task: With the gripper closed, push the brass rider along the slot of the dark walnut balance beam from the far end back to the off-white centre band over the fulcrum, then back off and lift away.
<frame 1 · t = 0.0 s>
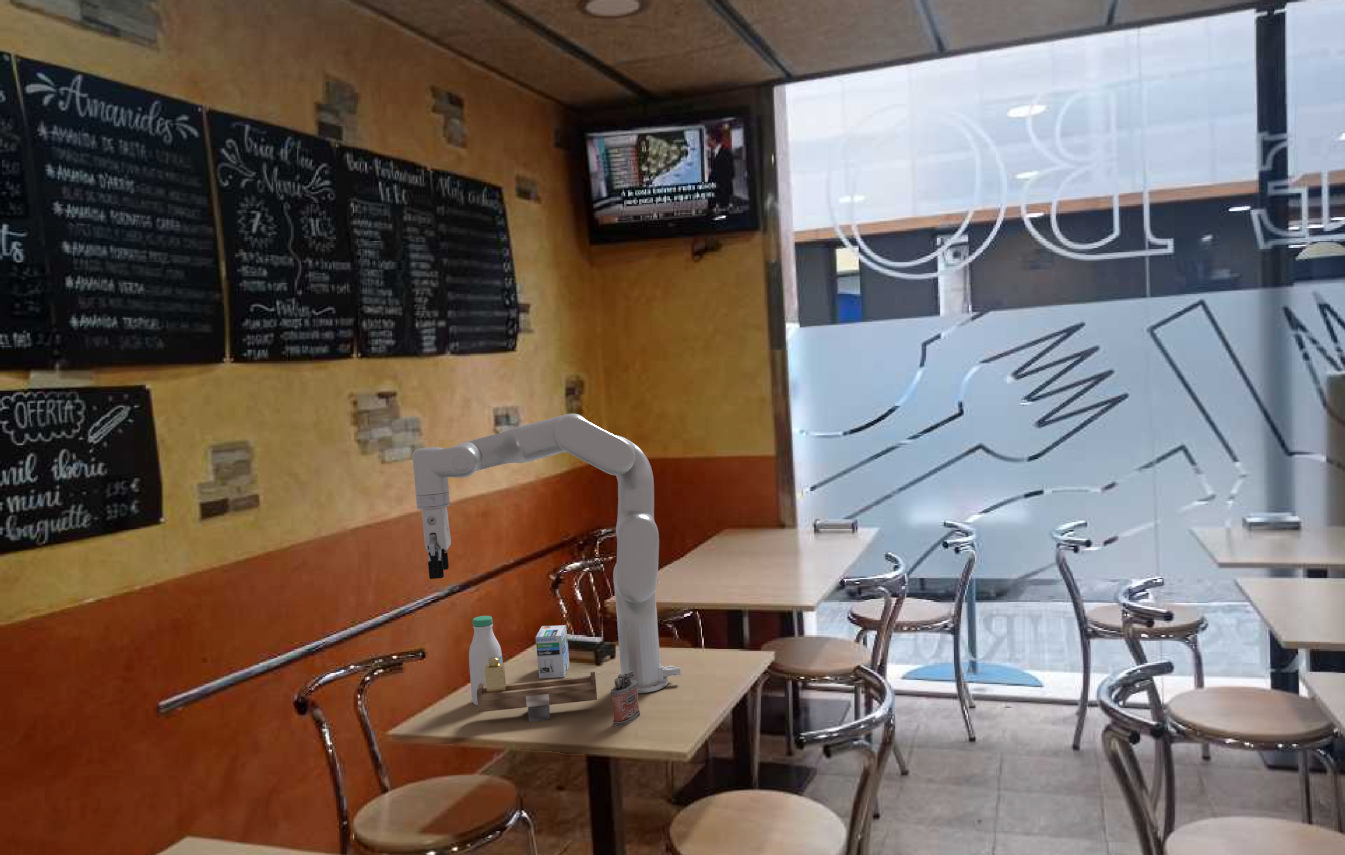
hand: (439, 573, 231), 31 cm above the table, tool pointing down, fingers open, 9 cm apart
rider: (495, 676, 221), point 10 cm above the table, slide at 9.0 cm
milk bottle: (489, 702, 234), on the table
beam: (539, 714, 223), on the table
lighter: (626, 720, 216), on the table
light bulb box: (554, 672, 254), on the table
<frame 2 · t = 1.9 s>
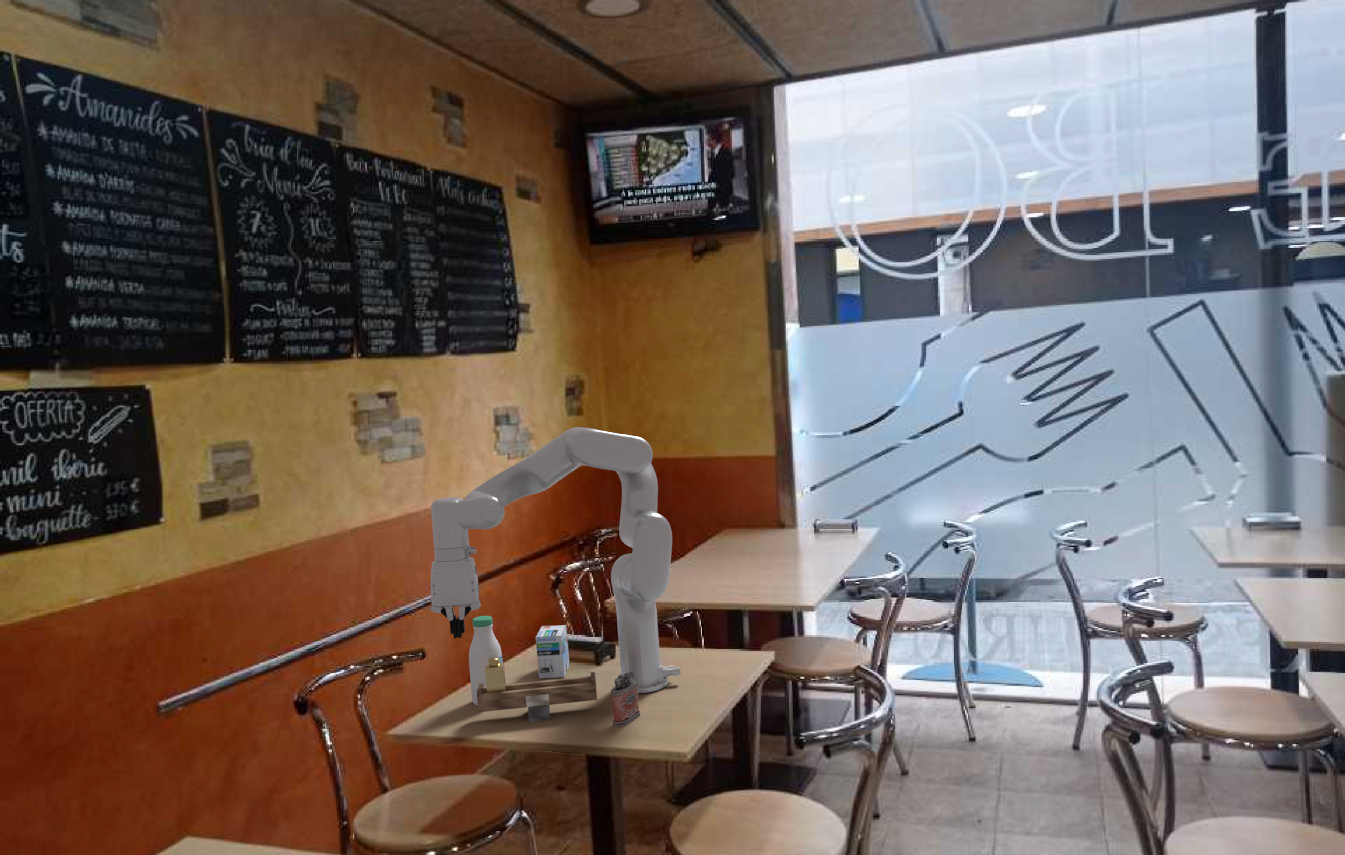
hand: (458, 636, 220), 19 cm above the table, tool pointing down, fingers closed
nothing on the table moved.
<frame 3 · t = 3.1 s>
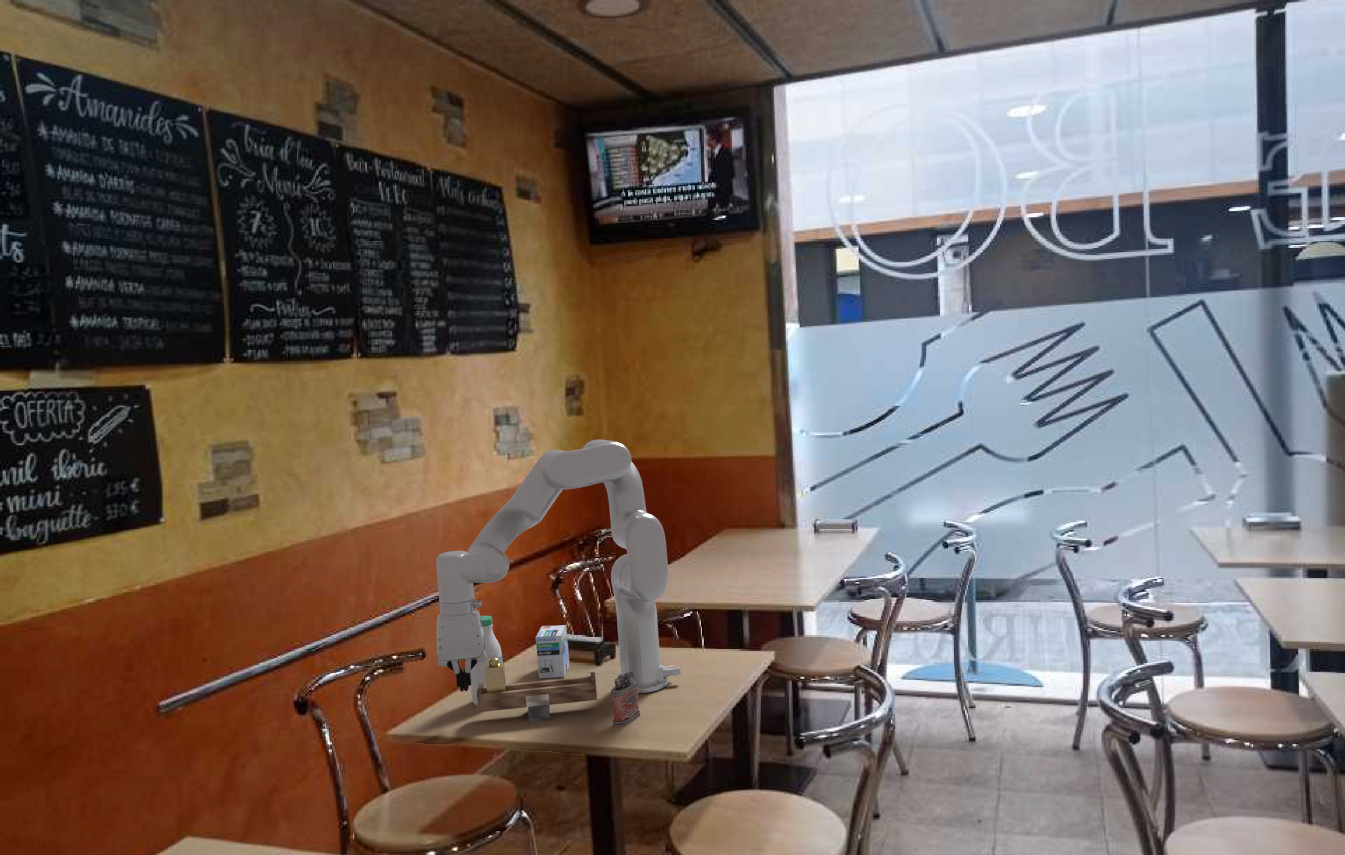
hand: (464, 689, 221), 8 cm above the table, tool pointing down, fingers closed
nothing on the table moved.
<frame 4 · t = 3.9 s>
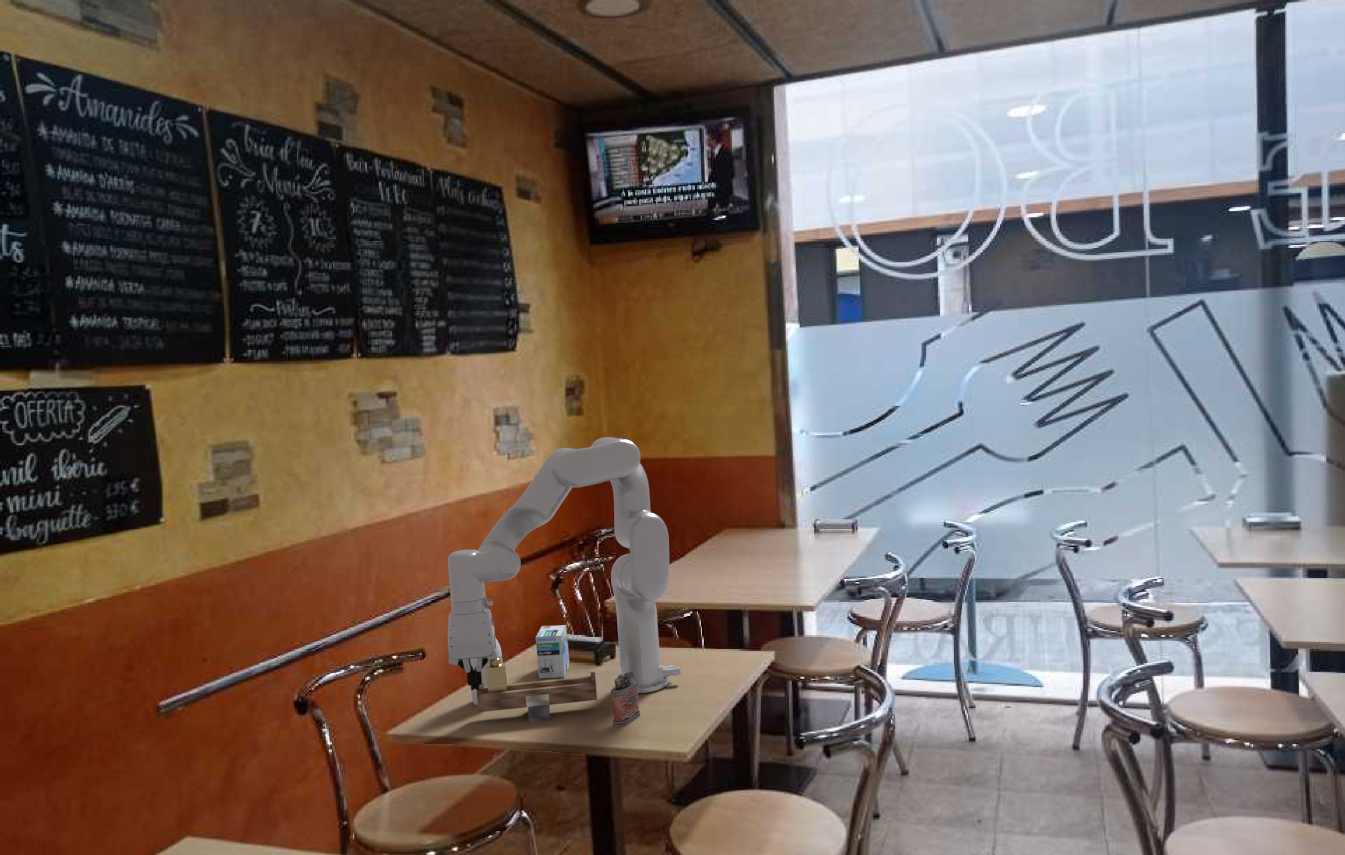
hand: (475, 688, 221), 8 cm above the table, tool pointing down, fingers closed
rider: (496, 676, 221), point 10 cm above the table, slide at 8.7 cm, touching gripper
everything else where it was.
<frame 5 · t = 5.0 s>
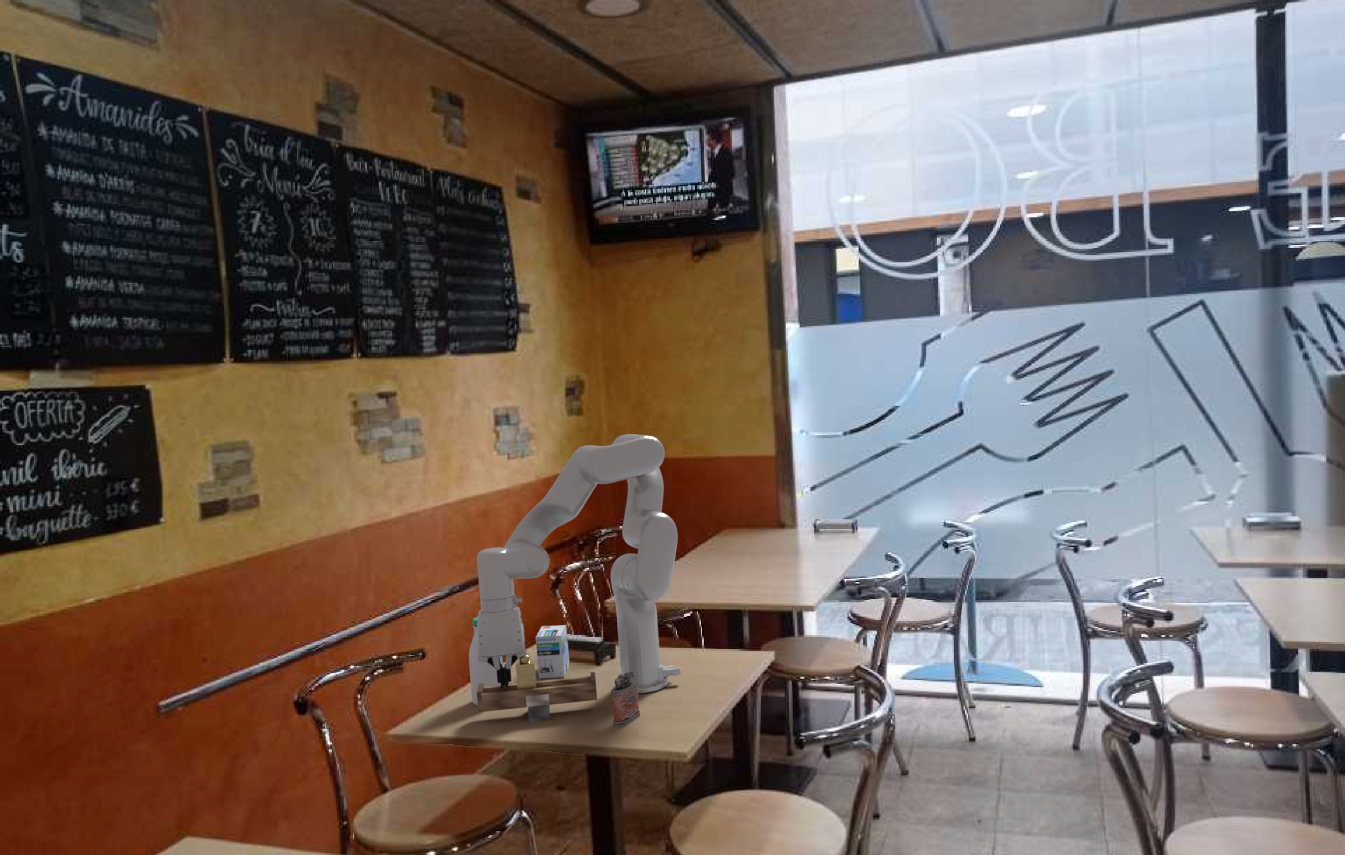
hand: (504, 685, 221), 7 cm above the table, tool pointing down, fingers closed
rider: (525, 673, 222), point 10 cm above the table, slide at 2.3 cm, touching gripper
everything else where it was.
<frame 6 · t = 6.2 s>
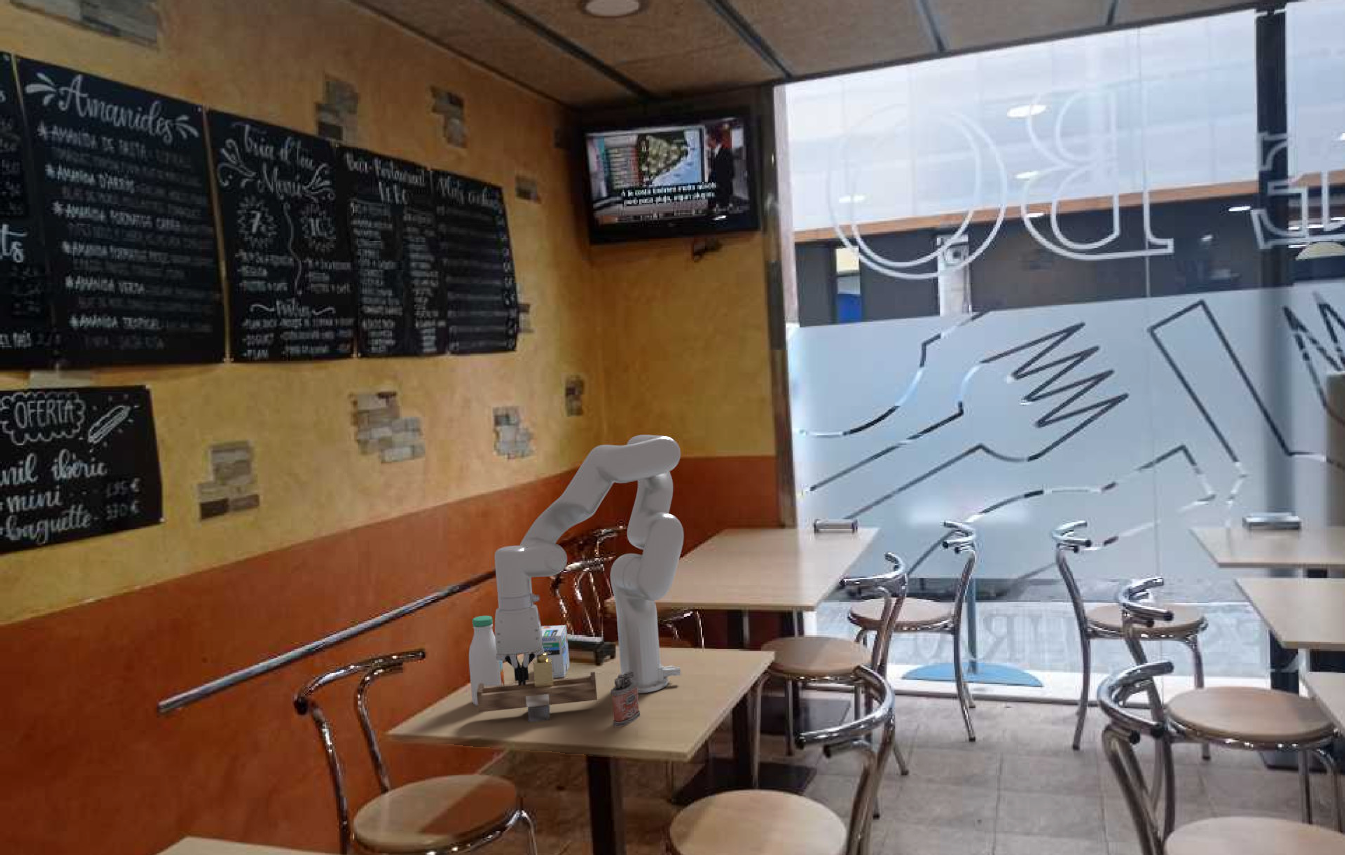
hand: (522, 683, 222), 8 cm above the table, tool pointing down, fingers closed
rider: (543, 671, 222), point 10 cm above the table, slide at -1.6 cm, touching gripper
everything else where it was.
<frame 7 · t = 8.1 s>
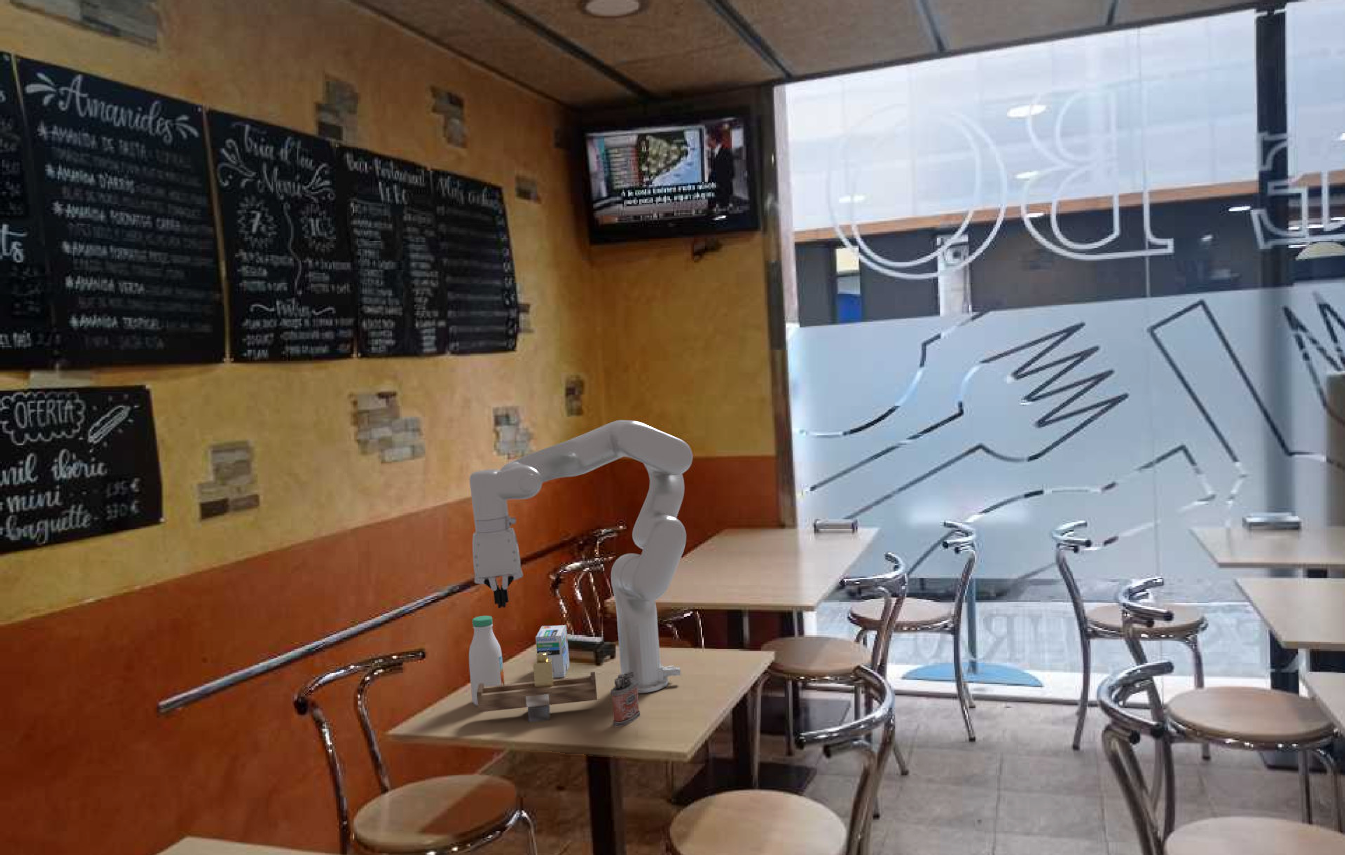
hand: (502, 606, 223), 25 cm above the table, tool pointing down, fingers closed
rider: (543, 671, 222), point 10 cm above the table, slide at -1.6 cm
everything else where it was.
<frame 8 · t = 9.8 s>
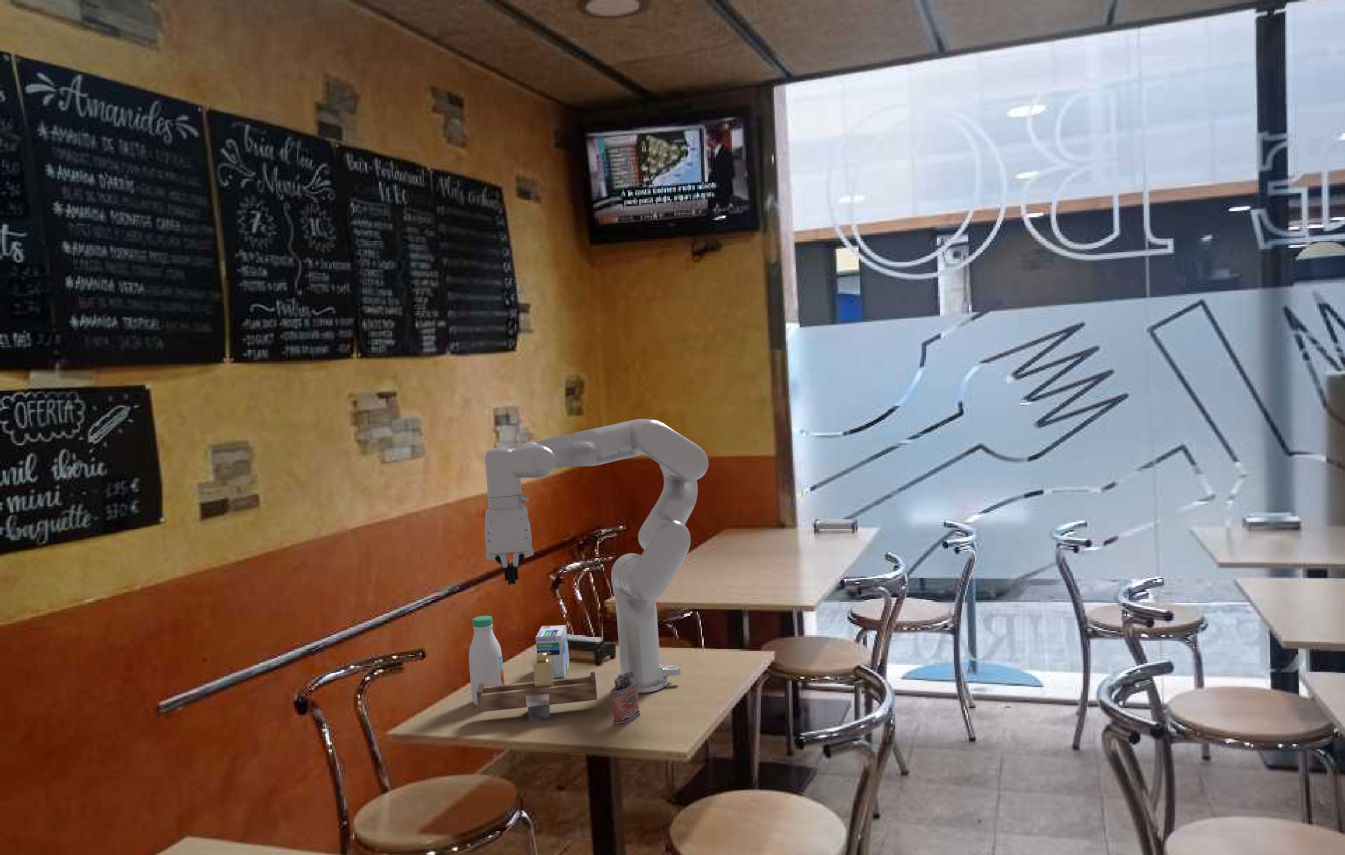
hand: (512, 583, 225), 29 cm above the table, tool pointing down, fingers closed
nothing on the table moved.
at the end: rider slide at -1.6 cm; rider touching nothing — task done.
